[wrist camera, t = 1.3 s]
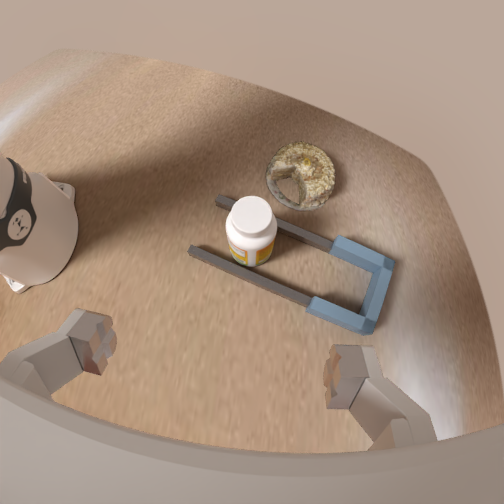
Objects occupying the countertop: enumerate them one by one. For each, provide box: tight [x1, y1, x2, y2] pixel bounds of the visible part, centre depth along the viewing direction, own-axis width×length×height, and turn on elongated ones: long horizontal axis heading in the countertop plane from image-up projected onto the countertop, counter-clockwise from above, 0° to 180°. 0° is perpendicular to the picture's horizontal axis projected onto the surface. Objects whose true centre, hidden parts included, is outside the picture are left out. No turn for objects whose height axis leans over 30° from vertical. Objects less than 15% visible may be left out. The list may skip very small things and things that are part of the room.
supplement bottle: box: [226, 196, 277, 267], centre depth 34 cm, size 5×5×10 cm
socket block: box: [306, 235, 395, 336], centre depth 35 cm, size 8×10×3 cm
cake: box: [266, 141, 336, 211], centre depth 39 cm, size 10×10×5 cm
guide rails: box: [187, 194, 334, 307], centre depth 37 cm, size 16×8×2 cm, turn 66°
